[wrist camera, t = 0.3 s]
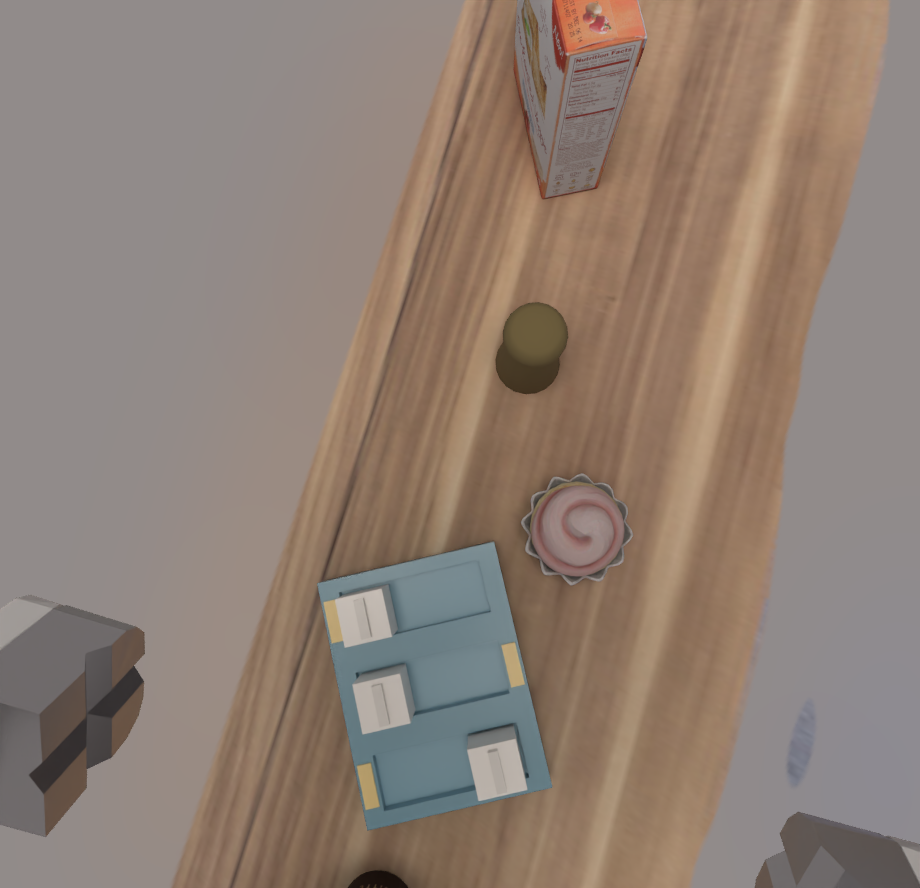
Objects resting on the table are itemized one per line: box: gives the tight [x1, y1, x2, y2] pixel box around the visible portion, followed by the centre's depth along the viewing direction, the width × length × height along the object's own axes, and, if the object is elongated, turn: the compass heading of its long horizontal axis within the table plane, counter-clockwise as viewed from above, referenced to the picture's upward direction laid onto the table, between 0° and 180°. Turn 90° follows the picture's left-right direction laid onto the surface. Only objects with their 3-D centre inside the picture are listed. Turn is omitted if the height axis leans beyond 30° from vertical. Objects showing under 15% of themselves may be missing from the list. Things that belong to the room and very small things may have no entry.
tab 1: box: [352, 663, 416, 734], centre depth 56 cm, size 4×4×5 cm
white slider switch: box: [335, 584, 398, 648], centre depth 56 cm, size 4×4×5 cm
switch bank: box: [317, 541, 552, 831], centre depth 58 cm, size 21×16×3 cm
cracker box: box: [514, 0, 647, 199], centre depth 55 cm, size 14×6×21 cm, turn 11°
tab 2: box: [467, 724, 527, 801], centre depth 55 cm, size 4×4×5 cm
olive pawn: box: [496, 302, 568, 394], centre depth 57 cm, size 6×6×11 cm
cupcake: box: [521, 473, 633, 585], centre depth 56 cm, size 9×9×10 cm
